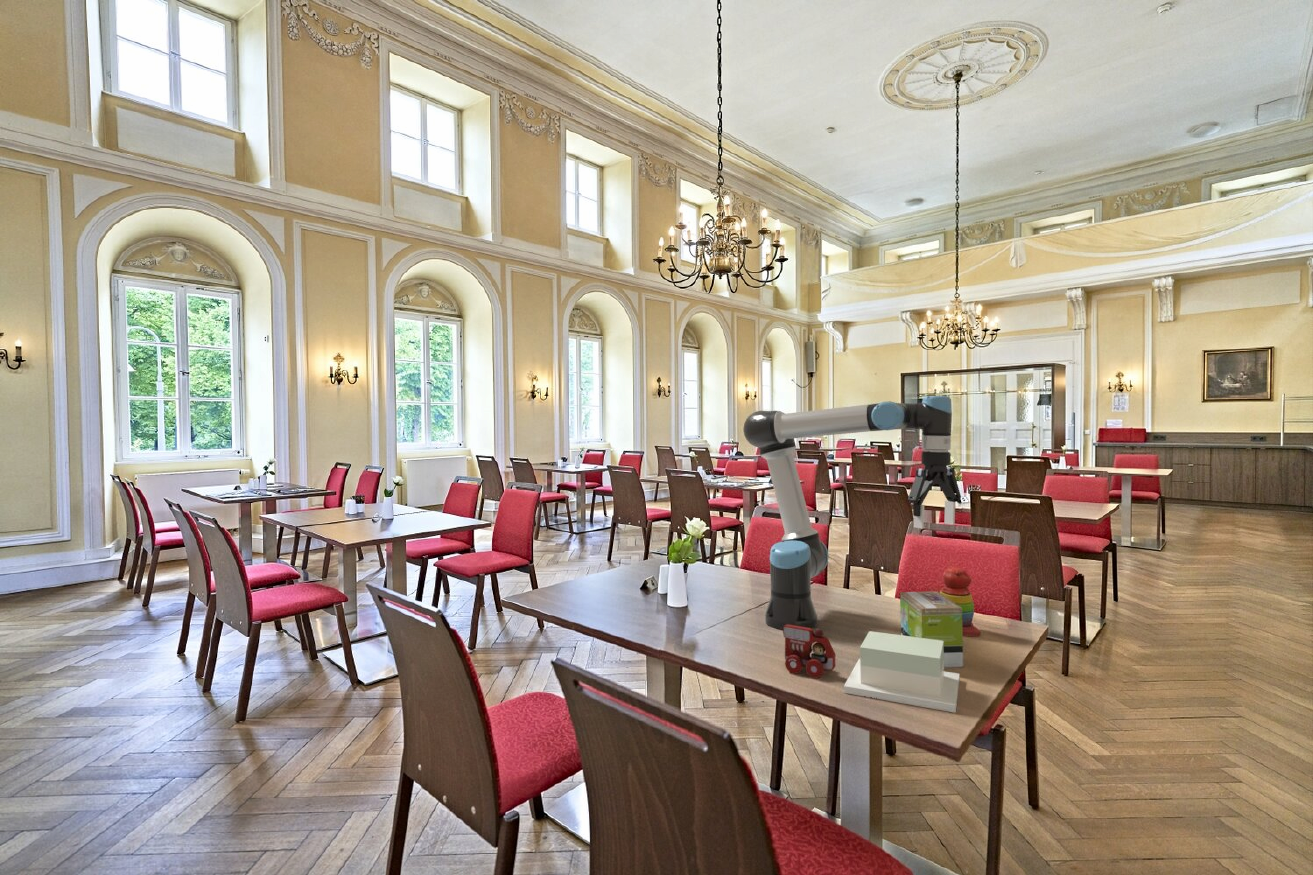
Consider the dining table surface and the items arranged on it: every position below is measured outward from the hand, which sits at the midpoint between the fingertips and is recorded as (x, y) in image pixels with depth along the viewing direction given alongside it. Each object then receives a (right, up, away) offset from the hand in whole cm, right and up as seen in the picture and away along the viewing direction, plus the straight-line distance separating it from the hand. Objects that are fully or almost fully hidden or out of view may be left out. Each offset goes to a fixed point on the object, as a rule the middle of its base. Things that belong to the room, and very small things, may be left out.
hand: (934, 526), depth 176 cm
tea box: (-10, -30, -20) cm, 37 cm away
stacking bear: (+7, -30, 0) cm, 30 cm away
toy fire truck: (-42, -31, -27) cm, 59 cm away
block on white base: (-24, -30, -37) cm, 54 cm away
